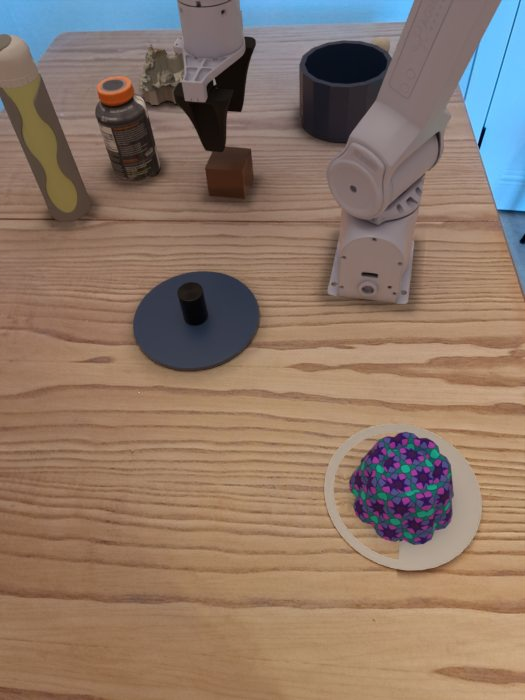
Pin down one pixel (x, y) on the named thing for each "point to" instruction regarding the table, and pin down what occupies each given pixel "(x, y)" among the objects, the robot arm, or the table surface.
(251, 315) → the lid
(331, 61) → the pot
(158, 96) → the egg carton
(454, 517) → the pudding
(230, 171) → the block
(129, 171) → the pill bottle
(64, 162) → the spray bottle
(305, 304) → the table surface
